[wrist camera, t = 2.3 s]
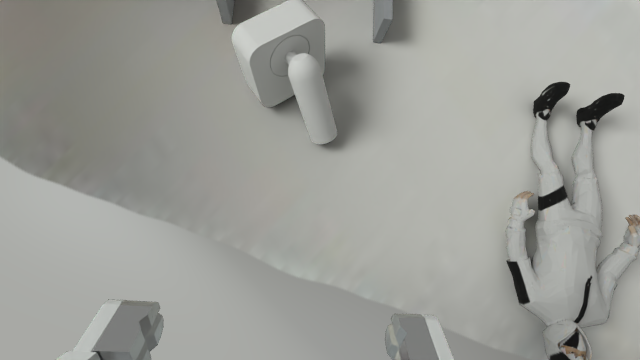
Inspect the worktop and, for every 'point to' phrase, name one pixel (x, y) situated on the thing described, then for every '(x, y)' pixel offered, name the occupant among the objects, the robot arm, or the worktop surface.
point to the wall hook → (288, 63)
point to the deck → (380, 18)
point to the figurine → (567, 238)
